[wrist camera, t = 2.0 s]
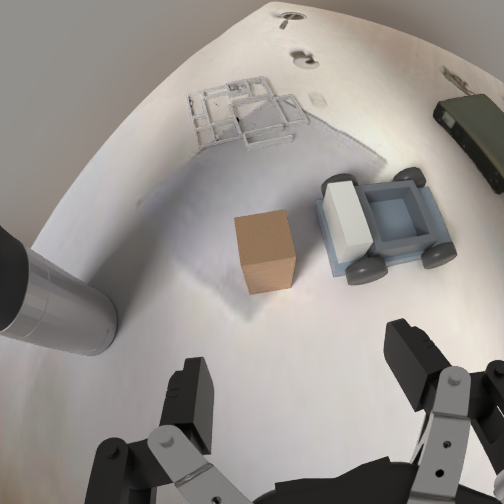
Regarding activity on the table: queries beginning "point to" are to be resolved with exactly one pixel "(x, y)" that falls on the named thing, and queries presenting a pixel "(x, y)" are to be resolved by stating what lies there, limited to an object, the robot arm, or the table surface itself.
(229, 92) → the floor plan model
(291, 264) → the brown rectangular block
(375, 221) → the chassis
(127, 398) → the table surface
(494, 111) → the network switch
